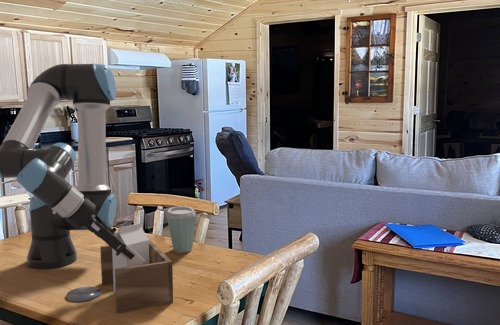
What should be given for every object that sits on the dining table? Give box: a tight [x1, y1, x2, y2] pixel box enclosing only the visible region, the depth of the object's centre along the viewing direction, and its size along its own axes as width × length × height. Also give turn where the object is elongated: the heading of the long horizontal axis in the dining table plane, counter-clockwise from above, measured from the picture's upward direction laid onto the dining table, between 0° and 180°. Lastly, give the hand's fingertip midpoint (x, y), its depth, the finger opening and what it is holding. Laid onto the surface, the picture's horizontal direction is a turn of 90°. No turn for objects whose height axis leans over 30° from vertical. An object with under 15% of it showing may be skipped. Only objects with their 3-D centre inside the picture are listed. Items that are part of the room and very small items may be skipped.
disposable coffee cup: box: [165, 205, 197, 254], centre depth 167 cm, size 11×11×15 cm
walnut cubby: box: [100, 239, 174, 314], centre depth 130 cm, size 22×14×11 cm, turn 27°
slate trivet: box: [65, 286, 102, 303], centre depth 129 cm, size 9×9×1 cm
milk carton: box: [112, 222, 150, 294], centre depth 129 cm, size 7×7×19 cm
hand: (135, 256), depth 129 cm, fingers open, 13 cm apart
